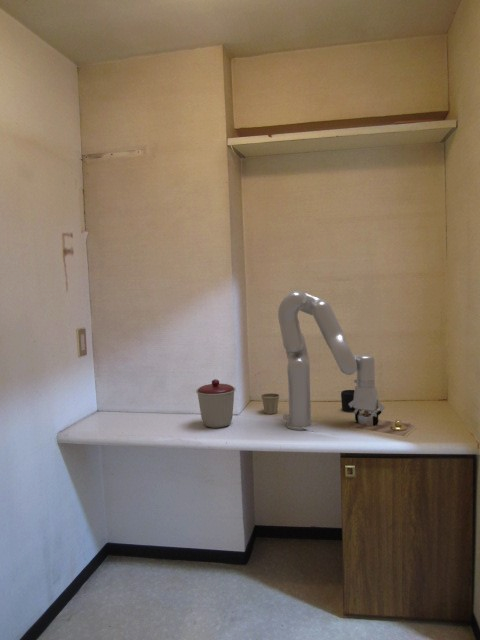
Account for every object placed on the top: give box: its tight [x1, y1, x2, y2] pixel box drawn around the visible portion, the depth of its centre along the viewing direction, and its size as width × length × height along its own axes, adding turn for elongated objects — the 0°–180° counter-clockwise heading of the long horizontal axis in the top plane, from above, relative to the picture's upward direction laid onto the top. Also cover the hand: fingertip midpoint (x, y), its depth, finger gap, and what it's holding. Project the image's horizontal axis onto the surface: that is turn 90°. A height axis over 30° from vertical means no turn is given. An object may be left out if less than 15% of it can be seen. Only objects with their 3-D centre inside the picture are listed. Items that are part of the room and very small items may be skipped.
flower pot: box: [260, 392, 281, 415], centre depth 241 cm, size 9×9×9 cm
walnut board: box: [347, 419, 417, 437], centre depth 208 cm, size 24×16×1 cm, turn 52°
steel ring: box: [358, 411, 374, 426], centre depth 212 cm, size 7×7×4 cm
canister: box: [195, 378, 236, 429], centre depth 224 cm, size 18×18×21 cm
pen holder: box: [340, 389, 362, 413], centre depth 235 cm, size 9×9×10 cm
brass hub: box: [390, 419, 407, 431], centre depth 204 cm, size 7×7×3 cm
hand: (366, 423), depth 213 cm, fingers closed on walnut board, 7 cm apart
